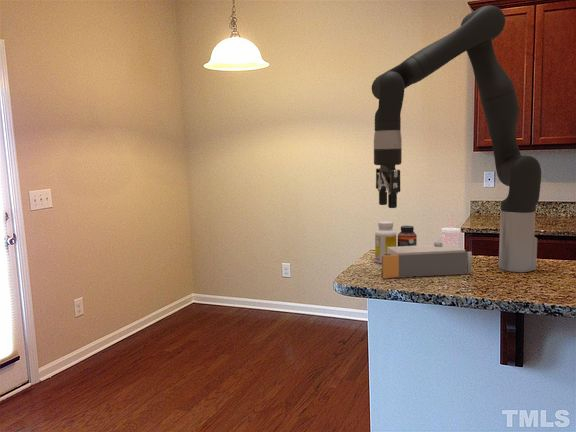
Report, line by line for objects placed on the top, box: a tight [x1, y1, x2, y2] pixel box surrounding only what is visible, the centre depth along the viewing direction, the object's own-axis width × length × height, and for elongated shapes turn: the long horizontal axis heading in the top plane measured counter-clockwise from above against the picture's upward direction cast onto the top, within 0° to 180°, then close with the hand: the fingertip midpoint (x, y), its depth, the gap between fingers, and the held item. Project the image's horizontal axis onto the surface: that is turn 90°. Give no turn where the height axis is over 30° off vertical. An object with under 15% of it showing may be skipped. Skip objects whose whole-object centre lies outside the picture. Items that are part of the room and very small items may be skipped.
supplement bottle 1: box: [374, 220, 397, 264], centre depth 160 cm, size 7×7×13 cm
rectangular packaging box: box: [384, 242, 466, 278], centre depth 147 cm, size 21×9×8 cm, turn 97°
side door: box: [381, 251, 473, 279], centre depth 141 cm, size 26×1×6 cm, turn 97°
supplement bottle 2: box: [397, 225, 418, 247], centre depth 161 cm, size 6×6×11 cm
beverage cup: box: [440, 213, 461, 247], centre depth 168 cm, size 6×6×14 cm
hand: (387, 206), depth 141 cm, fingers open, 8 cm apart
